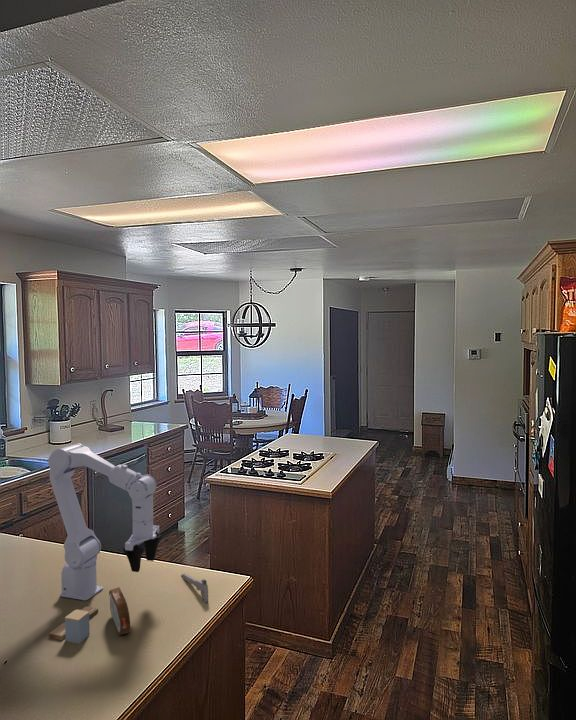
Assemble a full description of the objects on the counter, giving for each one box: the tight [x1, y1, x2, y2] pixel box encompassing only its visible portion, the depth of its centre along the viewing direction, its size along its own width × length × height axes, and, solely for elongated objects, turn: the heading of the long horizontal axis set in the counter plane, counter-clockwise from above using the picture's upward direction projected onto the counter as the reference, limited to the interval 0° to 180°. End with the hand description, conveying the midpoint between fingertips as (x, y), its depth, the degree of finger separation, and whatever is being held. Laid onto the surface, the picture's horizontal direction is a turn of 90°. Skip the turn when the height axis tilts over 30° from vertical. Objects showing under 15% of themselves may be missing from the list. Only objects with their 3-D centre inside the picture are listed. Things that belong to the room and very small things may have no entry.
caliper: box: [180, 572, 209, 603], centre depth 157 cm, size 20×1×6 cm, turn 31°
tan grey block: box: [64, 609, 91, 644], centre depth 131 cm, size 4×4×6 cm
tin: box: [108, 586, 131, 636], centre depth 136 cm, size 15×3×8 cm, turn 29°
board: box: [48, 606, 99, 641], centre depth 137 cm, size 4×14×1 cm, turn 163°
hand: (143, 565), depth 149 cm, fingers open, 7 cm apart
